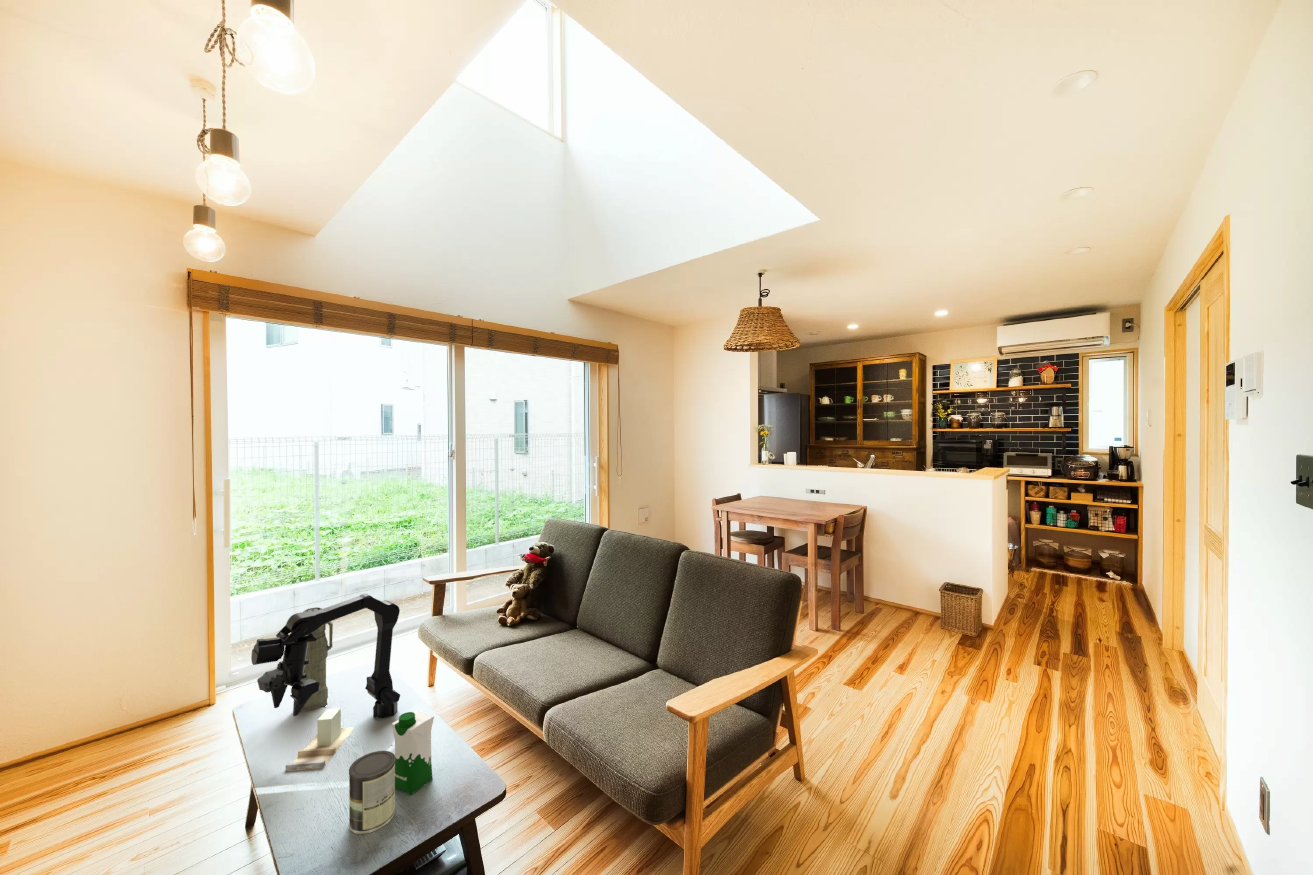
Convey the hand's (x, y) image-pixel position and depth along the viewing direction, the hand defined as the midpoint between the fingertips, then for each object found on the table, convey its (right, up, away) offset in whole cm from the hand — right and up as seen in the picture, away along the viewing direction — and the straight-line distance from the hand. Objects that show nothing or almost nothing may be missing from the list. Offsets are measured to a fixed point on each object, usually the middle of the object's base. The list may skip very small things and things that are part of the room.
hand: (285, 711), depth 149 cm
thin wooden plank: (+9, -14, +4) cm, 17 cm away
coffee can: (+39, -15, -22) cm, 47 cm away
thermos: (-11, -14, +28) cm, 33 cm away
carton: (+8, -13, +8) cm, 17 cm away
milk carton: (+43, -15, -10) cm, 46 cm away
